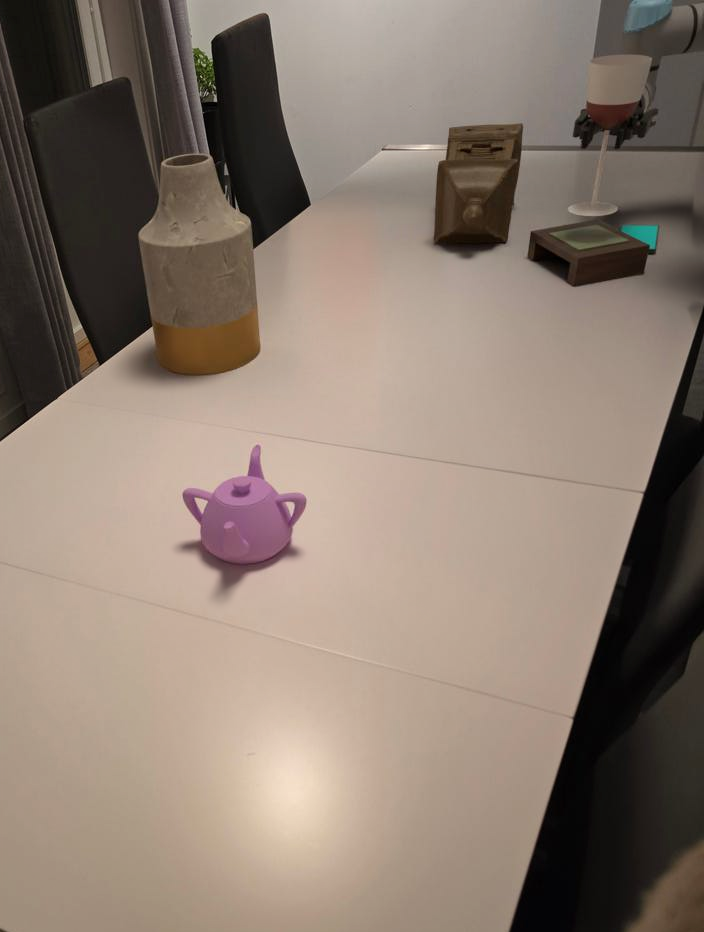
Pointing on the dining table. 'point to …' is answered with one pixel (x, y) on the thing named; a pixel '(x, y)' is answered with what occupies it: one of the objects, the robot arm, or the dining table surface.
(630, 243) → the shelf
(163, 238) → the vase
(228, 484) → the teapot
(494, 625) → the dining table surface
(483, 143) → the ornamental box
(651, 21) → the robot arm
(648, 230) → the smartphone
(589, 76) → the wineglass
